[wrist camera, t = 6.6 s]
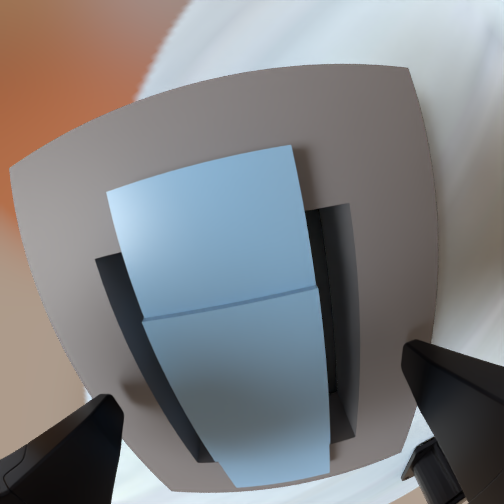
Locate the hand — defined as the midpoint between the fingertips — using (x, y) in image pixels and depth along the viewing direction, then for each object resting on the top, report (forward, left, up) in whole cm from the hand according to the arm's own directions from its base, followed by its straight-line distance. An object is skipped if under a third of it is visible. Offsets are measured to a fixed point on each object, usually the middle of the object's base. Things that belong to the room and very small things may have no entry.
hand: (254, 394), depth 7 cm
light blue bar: (0, 0, -4) cm, 4 cm away
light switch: (0, 0, -4) cm, 4 cm away
